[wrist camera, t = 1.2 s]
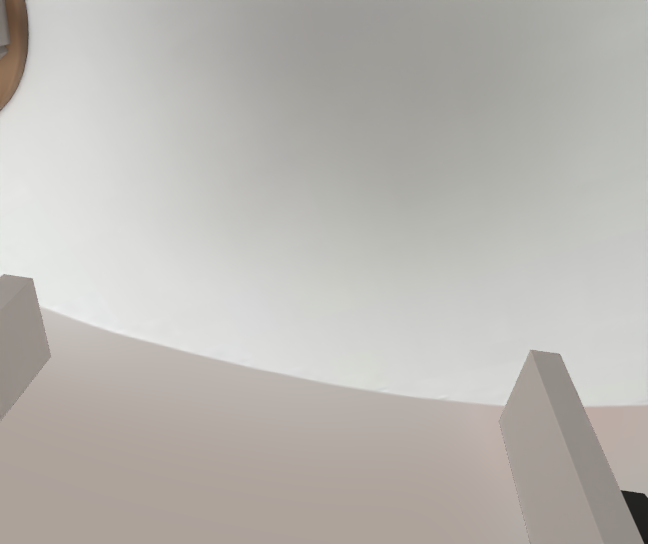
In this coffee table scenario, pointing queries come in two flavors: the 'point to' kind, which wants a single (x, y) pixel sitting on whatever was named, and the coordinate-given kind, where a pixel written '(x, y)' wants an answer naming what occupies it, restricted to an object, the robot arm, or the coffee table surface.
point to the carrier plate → (12, 46)
